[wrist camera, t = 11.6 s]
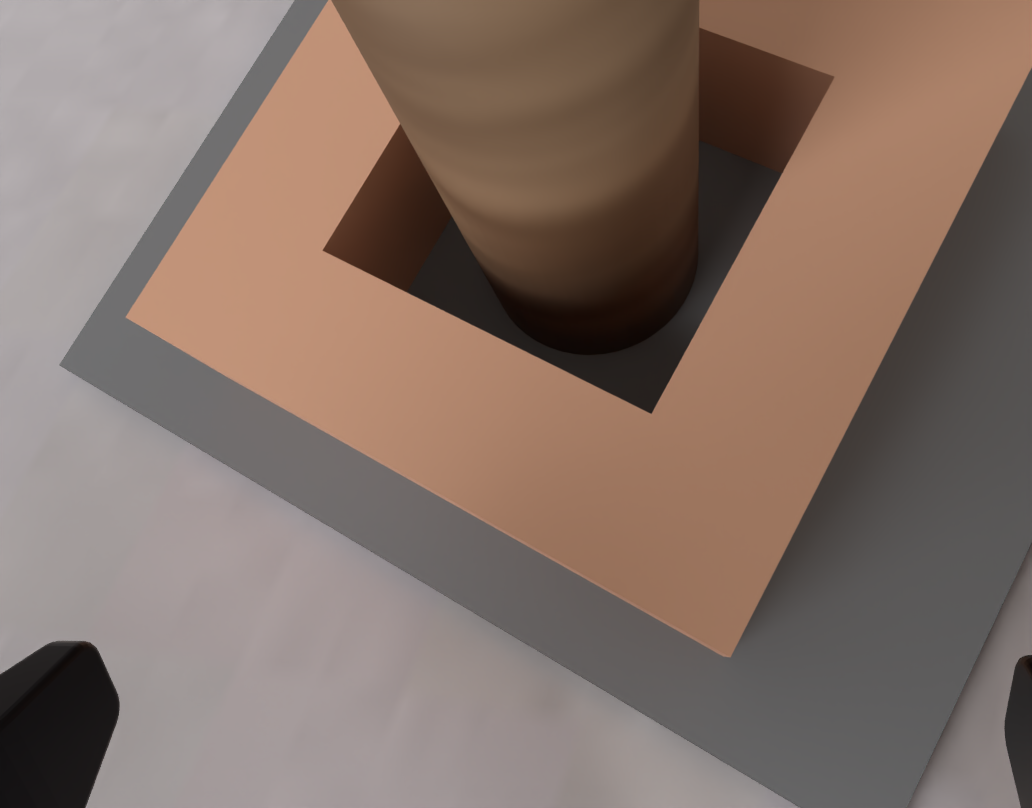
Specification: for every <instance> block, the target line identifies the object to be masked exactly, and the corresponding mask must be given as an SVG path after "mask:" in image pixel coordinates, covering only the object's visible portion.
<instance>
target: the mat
mask: <svg viewBox="0 0 1032 808" xmlns="http://www.w3.org/2000/svg"><path fill="white" fill-rule="evenodd" d="M327 2H328V0H295V1H294V2H293V4H292V6H291V7H290V9H289V10H288V12H287V13H286V15H285V16H284V18H283V20H282V21H281V23H280V24H279V26H278V27H277V29H276V30H275V32H274V33H273V35H272V37H271V38H270V40H269V41H268V43H267V44H266V46H265V47H264V49H263V50H262V52H261V54H260V55H259V57H258V58H257V60H256V61H255V63H254V64H253V66H252V68H251V69H250V71H249V72H248V74H247V75H246V77H245V78H244V80H243V81H242V83H241V85H240V86H239V88H238V89H237V91H236V92H235V94H234V95H233V97H232V98H231V100H230V102H229V103H228V105H227V106H226V108H225V109H224V111H223V112H222V114H221V115H220V117H219V119H218V120H217V122H216V123H215V125H214V126H213V128H212V129H211V131H210V133H209V134H208V136H207V137H206V139H205V140H204V142H203V143H202V145H201V146H200V148H199V150H198V151H197V153H196V154H195V156H194V157H193V159H192V160H191V162H190V163H189V165H188V167H187V168H186V170H185V171H184V173H183V174H182V176H181V177H180V179H179V181H178V182H177V184H176V185H175V187H174V188H173V190H172V191H171V193H170V194H169V196H168V198H167V199H166V201H165V202H164V204H163V205H162V207H161V208H160V210H159V211H158V213H157V215H156V216H155V218H154V219H153V221H152V222H151V224H150V225H149V227H148V228H147V230H146V232H145V233H144V235H143V236H142V238H141V239H140V241H139V242H138V244H137V246H136V247H135V249H134V250H133V252H132V253H131V255H130V256H129V258H128V259H127V261H126V263H125V264H124V266H123V267H122V269H121V270H120V272H119V273H118V275H117V276H116V278H115V280H114V281H113V283H112V284H111V286H110V287H109V289H108V290H107V292H106V294H105V295H104V297H103V298H102V300H101V301H100V303H99V304H98V306H97V307H96V309H95V311H94V312H93V314H92V315H91V317H90V318H89V320H88V321H87V323H86V324H85V326H84V328H83V329H82V331H81V332H80V334H79V335H78V337H77V338H76V340H75V341H74V343H73V345H72V346H71V348H70V349H69V351H68V352H67V354H66V355H65V357H64V359H63V360H62V362H61V363H60V366H61V367H63V368H65V369H67V370H68V371H70V372H72V373H73V374H75V375H77V376H78V377H80V378H82V379H83V380H85V381H87V382H88V383H90V384H92V385H93V386H95V387H97V388H98V389H100V390H102V391H103V392H105V393H107V394H108V395H110V396H112V397H113V398H115V399H117V400H118V401H120V402H122V403H123V404H125V405H127V406H128V407H130V408H132V409H133V410H135V411H137V412H139V413H140V414H142V415H144V416H145V417H147V418H149V419H150V420H152V421H154V422H155V423H157V424H159V425H160V426H162V427H164V428H165V429H167V430H169V431H170V432H172V433H174V434H175V435H177V436H179V437H180V438H182V439H184V440H185V441H187V442H189V443H190V444H192V445H194V446H195V447H197V448H199V449H200V450H202V451H204V452H206V453H207V454H209V455H211V456H212V457H214V458H216V459H217V460H219V461H221V462H222V463H224V464H226V465H227V466H229V467H231V468H232V469H234V470H236V471H237V472H239V473H241V474H242V475H244V476H246V477H247V478H249V479H251V480H252V481H254V482H256V483H257V484H259V485H261V486H262V487H264V488H266V489H267V490H269V491H271V492H272V493H274V494H276V495H278V496H279V497H281V498H283V499H284V500H286V501H288V502H289V503H291V504H293V505H294V506H296V507H298V508H299V509H301V510H303V511H304V512H306V513H308V514H309V515H311V516H313V517H314V518H316V519H318V520H319V521H321V522H323V523H324V524H326V525H328V526H329V527H331V528H333V529H334V530H336V531H338V532H339V533H341V534H343V535H345V536H346V537H348V538H350V539H351V540H353V541H355V542H356V543H358V544H360V545H361V546H363V547H365V548H366V549H368V550H370V551H371V552H373V553H375V554H376V555H378V556H380V557H381V558H383V559H385V560H386V561H388V562H390V563H391V564H393V565H395V566H396V567H398V568H400V569H401V570H403V571H405V572H406V573H408V574H410V575H412V576H413V577H415V578H417V579H418V580H420V581H422V582H423V583H425V584H427V585H428V586H430V587H432V588H433V589H435V590H437V591H438V592H440V593H442V594H443V595H445V596H447V597H448V598H450V599H452V600H453V601H455V602H457V603H458V604H460V605H462V606H463V607H465V608H467V609H468V610H470V611H472V612H473V613H475V614H477V615H478V616H480V617H482V618H484V619H485V620H487V621H489V622H490V623H492V624H494V625H495V626H497V627H499V628H500V629H502V630H504V631H505V632H507V633H509V634H510V635H512V636H514V637H515V638H517V639H519V640H520V641H522V642H524V643H525V644H527V645H529V646H530V647H532V648H534V649H535V650H537V651H539V652H540V653H542V654H544V655H545V656H547V657H549V658H551V659H552V660H554V661H556V662H557V663H559V664H561V665H562V666H564V667H566V668H567V669H569V670H571V671H572V672H574V673H576V674H577V675H579V676H581V677H582V678H584V679H586V680H587V681H589V682H591V683H592V684H594V685H596V686H597V687H599V688H601V689H602V690H604V691H606V692H607V693H609V694H611V695H612V696H614V697H616V698H617V699H619V700H621V701H623V702H624V703H626V704H628V705H629V706H631V707H633V708H634V709H636V710H638V711H639V712H641V713H643V714H644V715H646V716H648V717H649V718H651V719H653V720H654V721H656V722H658V723H659V724H661V725H663V726H664V727H666V728H668V729H669V730H671V731H673V732H674V733H676V734H678V735H679V736H681V737H683V738H684V739H686V740H688V741H690V742H691V743H693V744H695V745H696V746H698V747H700V748H701V749H703V750H705V751H706V752H708V753H710V754H711V755H713V756H715V757H716V758H718V759H720V760H721V761H723V762H725V763H726V764H728V765H730V766H731V767H733V768H735V769H736V770H738V771H740V772H741V773H743V774H745V775H746V776H748V777H750V778H751V779H753V780H755V781H756V782H758V783H760V784H762V785H763V786H765V787H767V788H768V789H770V790H772V791H773V792H775V793H777V794H778V795H780V796H782V797H783V798H785V799H787V800H788V801H790V802H792V803H793V804H795V805H797V806H798V807H800V808H907V806H908V804H909V802H910V800H911V798H912V795H913V793H914V791H915V789H916V787H917V785H918V783H919V781H920V778H921V776H922V774H923V772H924V770H925V768H926V766H927V764H928V762H929V759H930V757H931V755H932V753H933V751H934V749H935V747H936V745H937V742H938V740H939V738H940V736H941V734H942V732H943V730H944V728H945V725H946V723H947V721H948V719H949V717H950V715H951V713H952V711H953V709H954V706H955V704H956V702H957V700H958V698H959V696H960V694H961V692H962V689H963V687H964V685H965V683H966V681H967V679H968V677H969V675H970V672H971V670H972V668H973V666H974V664H975V662H976V660H977V658H978V656H979V653H980V651H981V649H982V647H983V645H984V643H985V641H986V639H987V636H988V634H989V632H990V630H991V628H992V626H993V624H994V622H995V619H996V617H997V615H998V613H999V611H1000V609H1001V607H1002V605H1003V603H1004V600H1005V598H1006V596H1007V594H1008V592H1009V590H1010V588H1011V586H1012V583H1013V581H1014V579H1015V577H1016V575H1017V573H1018V571H1019V569H1020V566H1021V564H1022V562H1023V560H1024V558H1025V556H1026V554H1027V552H1028V550H1029V547H1030V545H1031V543H1032V68H1031V70H1030V72H1029V74H1028V76H1027V78H1026V79H1025V81H1024V83H1023V85H1022V87H1021V89H1020V91H1019V93H1018V95H1017V97H1016V99H1015V101H1014V103H1013V105H1012V107H1011V109H1010V111H1009V113H1008V115H1007V117H1006V119H1005V121H1004V123H1003V125H1002V126H1001V128H1000V130H999V132H998V134H997V136H996V138H995V140H994V142H993V144H992V146H991V148H990V150H989V152H988V154H987V156H986V158H985V160H984V162H983V164H982V166H981V168H980V170H979V172H978V173H977V175H976V177H975V179H974V181H973V183H972V185H971V187H970V189H969V191H968V193H967V195H966V197H965V199H964V201H963V203H962V205H961V207H960V209H959V211H958V213H957V215H956V217H955V219H954V220H953V222H952V224H951V226H950V228H949V230H948V232H947V234H946V236H945V238H944V240H943V242H942V244H941V246H940V248H939V250H938V252H937V254H936V256H935V258H934V260H933V262H932V264H931V266H930V267H929V269H928V271H927V273H926V275H925V277H924V279H923V281H922V283H921V285H920V287H919V289H918V291H917V293H916V295H915V297H914V299H913V301H912V303H911V305H910V307H909V309H908V311H907V313H906V314H905V316H904V318H903V320H902V322H901V324H900V326H899V328H898V330H897V332H896V334H895V336H894V338H893V340H892V342H891V344H890V346H889V348H888V350H887V352H886V354H885V356H884V358H883V360H882V361H881V363H880V365H879V367H878V369H877V371H876V373H875V375H874V377H873V379H872V381H871V383H870V385H869V387H868V389H867V391H866V393H865V395H864V397H863V399H862V401H861V403H860V405H859V407H858V408H857V410H856V412H855V414H854V416H853V418H852V420H851V422H850V424H849V426H848V428H847V430H846V432H845V434H844V436H843V438H842V440H841V442H840V444H839V446H838V448H837V450H836V452H835V454H834V456H833V457H832V459H831V461H830V463H829V465H828V467H827V469H826V471H825V473H824V475H823V477H822V479H821V481H820V483H819V485H818V487H817V489H816V491H815V493H814V495H813V497H812V499H811V501H810V503H809V504H808V506H807V508H806V510H805V512H804V514H803V516H802V518H801V520H800V522H799V524H798V526H797V528H796V530H795V532H794V534H793V536H792V538H791V540H790V542H789V544H788V546H787V548H786V550H785V551H784V553H783V555H782V557H781V559H780V561H779V563H778V565H777V567H776V569H775V571H774V573H773V575H772V577H771V579H770V581H769V583H768V585H767V587H766V589H765V591H764V593H763V595H762V597H761V598H760V600H759V602H758V604H757V606H756V608H755V610H754V612H753V614H752V616H751V618H750V620H749V622H748V624H747V626H746V628H745V630H744V632H743V634H742V636H741V638H740V640H739V642H738V644H737V645H736V647H735V649H734V651H733V653H732V655H731V657H723V656H721V655H720V654H718V653H716V652H714V651H713V650H711V649H709V648H707V647H705V646H704V645H702V644H700V643H698V642H697V641H695V640H693V639H691V638H689V637H688V636H686V635H684V634H682V633H681V632H679V631H677V630H675V629H673V628H672V627H670V626H668V625H666V624H665V623H663V622H661V621H659V620H657V619H656V618H654V617H652V616H650V615H649V614H647V613H645V612H643V611H642V610H640V609H638V608H636V607H634V606H633V605H631V604H629V603H627V602H626V601H624V600H622V599H620V598H618V597H617V596H615V595H613V594H611V593H610V592H608V591H606V590H604V589H602V588H601V587H599V586H597V585H595V584H594V583H592V582H590V581H588V580H586V579H585V578H583V577H581V576H579V575H578V574H576V573H574V572H572V571H570V570H569V569H567V568H565V567H563V566H562V565H560V564H558V563H556V562H555V561H553V560H551V559H549V558H547V557H546V556H544V555H542V554H540V553H539V552H537V551H535V550H533V549H531V548H530V547H528V546H526V545H524V544H523V543H521V542H519V541H517V540H515V539H514V538H512V537H510V536H508V535H507V534H505V533H503V532H501V531H499V530H498V529H496V528H494V527H492V526H491V525H489V524H487V523H485V522H483V521H482V520H480V519H478V518H476V517H475V516H473V515H471V514H469V513H468V512H466V511H464V510H462V509H460V508H459V507H457V506H455V505H453V504H452V503H450V502H448V501H446V500H444V499H443V498H441V497H439V496H437V495H436V494H434V493H432V492H430V491H428V490H427V489H425V488H423V487H421V486H420V485H418V484H416V483H414V482H412V481H411V480H409V479H407V478H405V477H404V476H402V475H400V474H398V473H396V472H395V471H393V470H391V469H389V468H388V467H386V466H384V465H382V464H381V463H379V462H377V461H375V460H373V459H372V458H370V457H368V456H366V455H365V454H363V453H361V452H359V451H357V450H356V449H354V448H352V447H350V446H349V445H347V444H345V443H343V442H341V441H340V440H338V439H336V438H334V437H333V436H331V435H329V434H327V433H325V432H324V431H322V430H320V429H318V428H317V427H315V426H313V425H311V424H309V423H308V422H306V421H304V420H302V419H301V418H299V417H297V416H295V415H294V414H292V413H290V412H288V411H286V410H285V409H283V408H281V407H279V406H278V405H276V404H274V403H272V402H270V401H269V400H267V399H265V398H263V397H262V396H260V395H258V394H256V393H254V392H253V391H251V390H249V389H247V388H246V387H244V386H242V385H240V384H238V383H237V382H235V381H233V380H231V379H230V378H228V377H226V376H224V375H223V374H221V373H219V372H217V371H216V370H214V369H212V368H211V367H209V366H207V365H206V364H204V363H202V362H200V361H199V360H197V359H195V358H194V357H192V356H190V355H189V354H187V353H185V352H183V351H182V350H180V349H178V348H177V347H175V346H173V345H172V344H170V343H168V342H166V341H165V340H163V339H161V338H160V337H158V336H156V335H155V334H153V333H151V332H149V331H148V330H146V329H144V328H143V327H141V326H139V325H138V324H136V323H134V322H132V321H131V320H129V319H127V318H126V316H127V314H128V313H129V311H130V309H131V308H132V306H133V305H134V303H135V302H136V300H137V298H138V297H139V295H140V294H141V292H142V291H143V289H144V288H145V286H146V284H147V283H148V281H149V280H150V278H151V277H152V275H153V273H154V272H155V270H156V269H157V267H158V266H159V264H160V263H161V261H162V259H163V258H164V256H165V255H166V253H167V252H168V250H169V248H170V247H171V245H172V244H173V242H174V241H175V239H176V238H177V236H178V234H179V233H180V231H181V230H182V228H183V227H184V225H185V223H186V222H187V220H188V219H189V217H190V216H191V214H192V213H193V211H194V209H195V208H196V206H197V205H198V203H199V202H200V200H201V198H202V197H203V195H204V194H205V192H206V191H207V189H208V188H209V186H210V184H211V183H212V181H213V180H214V178H215V177H216V175H217V173H218V172H219V170H220V169H221V167H222V166H223V164H224V163H225V161H226V159H227V158H228V156H229V155H230V153H231V152H232V150H233V148H234V147H235V145H236V144H237V142H238V141H239V139H240V138H241V136H242V134H243V133H244V131H245V130H246V128H247V127H248V125H249V123H250V122H251V120H252V119H253V117H254V116H255V114H256V113H257V111H258V109H259V108H260V106H261V105H262V103H263V102H264V100H265V98H266V97H267V95H268V94H269V92H270V91H271V89H272V88H273V86H274V84H275V83H276V81H277V80H278V78H279V77H280V75H281V73H282V72H283V70H284V69H285V67H286V66H287V64H288V63H289V61H290V59H291V58H292V56H293V55H294V53H295V52H296V50H297V49H298V47H299V45H300V44H301V42H302V41H303V39H304V38H305V36H306V34H307V33H308V31H309V30H310V28H311V27H312V25H313V24H314V22H315V20H316V19H317V17H318V16H319V14H320V13H321V11H322V9H323V8H324V6H325V5H326V3H327ZM781 175H782V173H780V172H777V171H775V170H772V169H770V168H767V167H765V166H762V165H760V164H757V163H755V162H752V161H750V160H747V159H745V158H742V157H740V156H737V155H735V154H732V153H730V152H727V151H725V150H722V149H720V148H717V147H715V146H712V145H710V144H707V143H705V142H702V141H700V140H699V201H698V263H697V270H696V274H695V279H694V282H693V284H692V287H691V290H690V292H689V294H688V296H687V298H686V300H685V302H684V303H683V305H682V306H681V308H680V309H679V310H678V312H677V313H676V315H675V316H674V317H673V318H672V319H671V320H670V321H669V322H668V323H667V324H666V325H665V326H664V327H663V328H661V329H660V330H659V331H658V332H656V333H655V334H654V335H652V336H651V337H649V338H647V339H646V340H644V341H642V342H640V343H638V344H636V345H634V346H632V347H629V348H626V349H623V350H620V351H617V352H612V353H606V354H597V355H581V354H572V353H567V352H562V351H559V350H556V349H553V348H550V347H547V346H545V345H543V344H541V343H539V342H537V341H536V340H534V339H533V338H531V337H530V336H528V335H527V334H525V333H524V332H523V331H522V330H521V329H520V328H519V327H518V326H517V325H516V324H515V323H514V322H513V321H512V320H511V318H510V317H509V316H508V314H507V313H506V311H505V310H504V308H503V306H502V305H501V303H500V301H499V299H498V298H497V296H496V294H495V292H494V290H493V289H492V287H491V285H490V283H489V282H488V280H487V278H486V276H485V274H484V273H483V271H482V269H481V267H480V265H479V264H478V262H477V260H476V258H475V256H474V255H473V253H472V251H471V249H470V248H469V246H468V244H467V242H466V240H465V239H464V237H463V235H462V233H461V231H460V230H459V228H458V226H457V224H456V223H455V221H454V219H453V217H451V219H450V220H449V222H448V224H447V225H446V227H445V229H444V230H443V232H442V234H441V235H440V237H439V239H438V240H437V242H436V244H435V245H434V247H433V249H432V250H431V252H430V254H429V255H428V257H427V259H426V261H425V262H424V264H423V266H422V267H421V269H420V271H419V272H418V274H417V276H416V277H415V279H414V281H413V282H412V284H411V286H410V287H409V289H408V291H407V293H409V294H411V295H413V296H415V297H417V298H419V299H421V300H423V301H425V302H427V303H429V304H431V305H433V306H435V307H437V308H439V309H441V310H443V311H445V312H447V313H449V314H451V315H453V316H455V317H457V318H459V319H461V320H463V321H465V322H467V323H469V324H471V325H473V326H475V327H477V328H479V329H481V330H483V331H485V332H487V333H489V334H491V335H493V336H495V337H497V338H499V339H501V340H503V341H505V342H507V343H509V344H511V345H513V346H515V347H517V348H519V349H521V350H523V351H526V352H528V353H530V354H532V355H534V356H536V357H538V358H540V359H542V360H544V361H546V362H548V363H550V364H552V365H554V366H556V367H558V368H560V369H562V370H564V371H566V372H568V373H570V374H572V375H574V376H576V377H578V378H580V379H582V380H584V381H586V382H588V383H590V384H592V385H594V386H596V387H598V388H600V389H602V390H604V391H606V392H608V393H610V394H612V395H614V396H616V397H618V398H620V399H622V400H624V401H626V402H628V403H630V404H632V405H634V406H636V407H638V408H640V409H642V410H644V411H646V412H648V413H650V414H652V412H653V410H654V408H655V407H656V405H657V403H658V401H659V399H660V397H661V396H662V394H663V392H664V390H665V388H666V386H667V385H668V383H669V381H670V379H671V377H672V375H673V374H674V372H675V370H676V368H677V366H678V364H679V362H680V361H681V359H682V357H683V355H684V353H685V351H686V350H687V348H688V346H689V344H690V342H691V340H692V339H693V337H694V335H695V333H696V331H697V329H698V328H699V326H700V324H701V322H702V320H703V318H704V317H705V315H706V313H707V311H708V309H709V307H710V305H711V304H712V302H713V300H714V298H715V296H716V294H717V293H718V291H719V289H720V287H721V285H722V283H723V282H724V280H725V278H726V276H727V274H728V272H729V271H730V269H731V267H732V265H733V263H734V261H735V260H736V258H737V256H738V254H739V252H740V250H741V248H742V247H743V245H744V243H745V241H746V239H747V237H748V236H749V234H750V232H751V230H752V228H753V226H754V225H755V223H756V221H757V219H758V217H759V215H760V214H761V212H762V210H763V208H764V206H765V204H766V203H767V201H768V199H769V197H770V195H771V193H772V191H773V190H774V188H775V186H776V184H777V182H778V180H779V179H780V177H781Z"/></svg>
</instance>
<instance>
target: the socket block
mask: <svg viewBox="0 0 1032 808" xmlns="http://www.w3.org/2000/svg"><path fill="white" fill-rule="evenodd" d="M1031 68H1032V0H699V140H700V141H702V142H705V143H707V144H710V145H712V146H715V147H717V148H720V149H722V150H725V151H727V152H730V153H732V154H735V155H737V156H740V157H742V158H745V159H747V160H750V161H752V162H755V163H757V164H760V165H762V166H765V167H767V168H770V169H772V170H775V171H777V172H780V173H782V175H781V177H780V179H779V180H778V182H777V184H776V186H775V188H774V190H773V191H772V193H771V195H770V197H769V199H768V201H767V203H766V204H765V206H764V208H763V210H762V212H761V214H760V215H759V217H758V219H757V221H756V223H755V225H754V226H753V228H752V230H751V232H750V234H749V236H748V237H747V239H746V241H745V243H744V245H743V247H742V248H741V250H740V252H739V254H738V256H737V258H736V260H735V261H734V263H733V265H732V267H731V269H730V271H729V272H728V274H727V276H726V278H725V280H724V282H723V283H722V285H721V287H720V289H719V291H718V293H717V294H716V296H715V298H714V300H713V302H712V304H711V305H710V307H709V309H708V311H707V313H706V315H705V317H704V318H703V320H702V322H701V324H700V326H699V328H698V329H697V331H696V333H695V335H694V337H693V339H692V340H691V342H690V344H689V346H688V348H687V350H686V351H685V353H684V355H683V357H682V359H681V361H680V362H679V364H678V366H677V368H676V370H675V372H674V374H673V375H672V377H671V379H670V381H669V383H668V385H667V386H666V388H665V390H664V392H663V394H662V396H661V397H660V399H659V401H658V403H657V405H656V407H655V408H654V410H653V412H652V414H650V413H648V412H646V411H644V410H642V409H640V408H638V407H636V406H634V405H632V404H630V403H628V402H626V401H624V400H622V399H620V398H618V397H616V396H614V395H612V394H610V393H608V392H606V391H604V390H602V389H600V388H598V387H596V386H594V385H592V384H590V383H588V382H586V381H584V380H582V379H580V378H578V377H576V376H574V375H572V374H570V373H568V372H566V371H564V370H562V369H560V368H558V367H556V366H554V365H552V364H550V363H548V362H546V361H544V360H542V359H540V358H538V357H536V356H534V355H532V354H530V353H528V352H526V351H523V350H521V349H519V348H517V347H515V346H513V345H511V344H509V343H507V342H505V341H503V340H501V339H499V338H497V337H495V336H493V335H491V334H489V333H487V332H485V331H483V330H481V329H479V328H477V327H475V326H473V325H471V324H469V323H467V322H465V321H463V320H461V319H459V318H457V317H455V316H453V315H451V314H449V313H447V312H445V311H443V310H441V309H439V308H437V307H435V306H433V305H431V304H429V303H427V302H425V301H423V300H421V299H419V298H417V297H415V296H413V295H411V294H409V293H407V291H408V289H409V287H410V286H411V284H412V282H413V281H414V279H415V277H416V276H417V274H418V272H419V271H420V269H421V267H422V266H423V264H424V262H425V261H426V259H427V257H428V255H429V254H430V252H431V250H432V249H433V247H434V245H435V244H436V242H437V240H438V239H439V237H440V235H441V234H442V232H443V230H444V229H445V227H446V225H447V224H448V222H449V220H450V219H451V217H452V215H451V214H450V212H449V210H448V208H447V206H446V205H445V203H444V201H443V199H442V198H441V196H440V194H439V192H438V190H437V189H436V187H435V185H434V183H433V181H432V180H431V178H430V176H429V174H428V172H427V171H426V169H425V167H424V165H423V164H422V162H421V160H420V158H419V156H418V155H417V153H416V151H415V149H414V147H413V146H412V144H411V142H410V140H409V139H408V137H407V135H406V133H405V131H404V130H403V128H402V126H401V124H400V122H399V121H398V119H397V117H396V115H395V113H394V112H393V110H392V108H391V106H390V105H389V103H388V101H387V99H386V97H385V96H384V94H383V92H382V90H381V88H380V87H379V85H378V83H377V81H376V80H375V78H374V76H373V74H372V72H371V71H370V69H369V67H368V65H367V63H366V62H365V60H364V58H363V56H362V55H361V53H360V51H359V49H358V47H357V46H356V44H355V42H354V40H353V38H352V37H351V35H350V33H349V31H348V29H347V28H346V26H345V24H344V22H343V21H342V19H341V17H340V15H339V13H338V12H337V10H336V8H335V6H334V4H333V3H332V1H331V0H328V2H327V3H326V5H325V6H324V8H323V9H322V11H321V13H320V14H319V16H318V17H317V19H316V20H315V22H314V24H313V25H312V27H311V28H310V30H309V31H308V33H307V34H306V36H305V38H304V39H303V41H302V42H301V44H300V45H299V47H298V49H297V50H296V52H295V53H294V55H293V56H292V58H291V59H290V61H289V63H288V64H287V66H286V67H285V69H284V70H283V72H282V73H281V75H280V77H279V78H278V80H277V81H276V83H275V84H274V86H273V88H272V89H271V91H270V92H269V94H268V95H267V97H266V98H265V100H264V102H263V103H262V105H261V106H260V108H259V109H258V111H257V113H256V114H255V116H254V117H253V119H252V120H251V122H250V123H249V125H248V127H247V128H246V130H245V131H244V133H243V134H242V136H241V138H240V139H239V141H238V142H237V144H236V145H235V147H234V148H233V150H232V152H231V153H230V155H229V156H228V158H227V159H226V161H225V163H224V164H223V166H222V167H221V169H220V170H219V172H218V173H217V175H216V177H215V178H214V180H213V181H212V183H211V184H210V186H209V188H208V189H207V191H206V192H205V194H204V195H203V197H202V198H201V200H200V202H199V203H198V205H197V206H196V208H195V209H194V211H193V213H192V214H191V216H190V217H189V219H188V220H187V222H186V223H185V225H184V227H183V228H182V230H181V231H180V233H179V234H178V236H177V238H176V239H175V241H174V242H173V244H172V245H171V247H170V248H169V250H168V252H167V253H166V255H165V256H164V258H163V259H162V261H161V263H160V264H159V266H158V267H157V269H156V270H155V272H154V273H153V275H152V277H151V278H150V280H149V281H148V283H147V284H146V286H145V288H144V289H143V291H142V292H141V294H140V295H139V297H138V298H137V300H136V302H135V303H134V305H133V306H132V308H131V309H130V311H129V313H128V314H127V316H126V318H127V319H129V320H131V321H132V322H134V323H136V324H138V325H139V326H141V327H143V328H144V329H146V330H148V331H149V332H151V333H153V334H155V335H156V336H158V337H160V338H161V339H163V340H165V341H166V342H168V343H170V344H172V345H173V346H175V347H177V348H178V349H180V350H182V351H183V352H185V353H187V354H189V355H190V356H192V357H194V358H195V359H197V360H199V361H200V362H202V363H204V364H206V365H207V366H209V367H211V368H212V369H214V370H216V371H217V372H219V373H221V374H223V375H224V376H226V377H228V378H230V379H231V380H233V381H235V382H237V383H238V384H240V385H242V386H244V387H246V388H247V389H249V390H251V391H253V392H254V393H256V394H258V395H260V396H262V397H263V398H265V399H267V400H269V401H270V402H272V403H274V404H276V405H278V406H279V407H281V408H283V409H285V410H286V411H288V412H290V413H292V414H294V415H295V416H297V417H299V418H301V419H302V420H304V421H306V422H308V423H309V424H311V425H313V426H315V427H317V428H318V429H320V430H322V431H324V432H325V433H327V434H329V435H331V436H333V437H334V438H336V439H338V440H340V441H341V442H343V443H345V444H347V445H349V446H350V447H352V448H354V449H356V450H357V451H359V452H361V453H363V454H365V455H366V456H368V457H370V458H372V459H373V460H375V461H377V462H379V463H381V464H382V465H384V466H386V467H388V468H389V469H391V470H393V471H395V472H396V473H398V474H400V475H402V476H404V477H405V478H407V479H409V480H411V481H412V482H414V483H416V484H418V485H420V486H421V487H423V488H425V489H427V490H428V491H430V492H432V493H434V494H436V495H437V496H439V497H441V498H443V499H444V500H446V501H448V502H450V503H452V504H453V505H455V506H457V507H459V508H460V509H462V510H464V511H466V512H468V513H469V514H471V515H473V516H475V517H476V518H478V519H480V520H482V521H483V522H485V523H487V524H489V525H491V526H492V527H494V528H496V529H498V530H499V531H501V532H503V533H505V534H507V535H508V536H510V537H512V538H514V539H515V540H517V541H519V542H521V543H523V544H524V545H526V546H528V547H530V548H531V549H533V550H535V551H537V552H539V553H540V554H542V555H544V556H546V557H547V558H549V559H551V560H553V561H555V562H556V563H558V564H560V565H562V566H563V567H565V568H567V569H569V570H570V571H572V572H574V573H576V574H578V575H579V576H581V577H583V578H585V579H586V580H588V581H590V582H592V583H594V584H595V585H597V586H599V587H601V588H602V589H604V590H606V591H608V592H610V593H611V594H613V595H615V596H617V597H618V598H620V599H622V600H624V601H626V602H627V603H629V604H631V605H633V606H634V607H636V608H638V609H640V610H642V611H643V612H645V613H647V614H649V615H650V616H652V617H654V618H656V619H657V620H659V621H661V622H663V623H665V624H666V625H668V626H670V627H672V628H673V629H675V630H677V631H679V632H681V633H682V634H684V635H686V636H688V637H689V638H691V639H693V640H695V641H697V642H698V643H700V644H702V645H704V646H705V647H707V648H709V649H711V650H713V651H714V652H716V653H718V654H720V655H721V656H723V657H731V655H732V653H733V651H734V649H735V647H736V645H737V644H738V642H739V640H740V638H741V636H742V634H743V632H744V630H745V628H746V626H747V624H748V622H749V620H750V618H751V616H752V614H753V612H754V610H755V608H756V606H757V604H758V602H759V600H760V598H761V597H762V595H763V593H764V591H765V589H766V587H767V585H768V583H769V581H770V579H771V577H772V575H773V573H774V571H775V569H776V567H777V565H778V563H779V561H780V559H781V557H782V555H783V553H784V551H785V550H786V548H787V546H788V544H789V542H790V540H791V538H792V536H793V534H794V532H795V530H796V528H797V526H798V524H799V522H800V520H801V518H802V516H803V514H804V512H805V510H806V508H807V506H808V504H809V503H810V501H811V499H812V497H813V495H814V493H815V491H816V489H817V487H818V485H819V483H820V481H821V479H822V477H823V475H824V473H825V471H826V469H827V467H828V465H829V463H830V461H831V459H832V457H833V456H834V454H835V452H836V450H837V448H838V446H839V444H840V442H841V440H842V438H843V436H844V434H845V432H846V430H847V428H848V426H849V424H850V422H851V420H852V418H853V416H854V414H855V412H856V410H857V408H858V407H859V405H860V403H861V401H862V399H863V397H864V395H865V393H866V391H867V389H868V387H869V385H870V383H871V381H872V379H873V377H874V375H875V373H876V371H877V369H878V367H879V365H880V363H881V361H882V360H883V358H884V356H885V354H886V352H887V350H888V348H889V346H890V344H891V342H892V340H893V338H894V336H895V334H896V332H897V330H898V328H899V326H900V324H901V322H902V320H903V318H904V316H905V314H906V313H907V311H908V309H909V307H910V305H911V303H912V301H913V299H914V297H915V295H916V293H917V291H918V289H919V287H920V285H921V283H922V281H923V279H924V277H925V275H926V273H927V271H928V269H929V267H930V266H931V264H932V262H933V260H934V258H935V256H936V254H937V252H938V250H939V248H940V246H941V244H942V242H943V240H944V238H945V236H946V234H947V232H948V230H949V228H950V226H951V224H952V222H953V220H954V219H955V217H956V215H957V213H958V211H959V209H960V207H961V205H962V203H963V201H964V199H965V197H966V195H967V193H968V191H969V189H970V187H971V185H972V183H973V181H974V179H975V177H976V175H977V173H978V172H979V170H980V168H981V166H982V164H983V162H984V160H985V158H986V156H987V154H988V152H989V150H990V148H991V146H992V144H993V142H994V140H995V138H996V136H997V134H998V132H999V130H1000V128H1001V126H1002V125H1003V123H1004V121H1005V119H1006V117H1007V115H1008V113H1009V111H1010V109H1011V107H1012V105H1013V103H1014V101H1015V99H1016V97H1017V95H1018V93H1019V91H1020V89H1021V87H1022V85H1023V83H1024V81H1025V79H1026V78H1027V76H1028V74H1029V72H1030V70H1031Z"/></svg>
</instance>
